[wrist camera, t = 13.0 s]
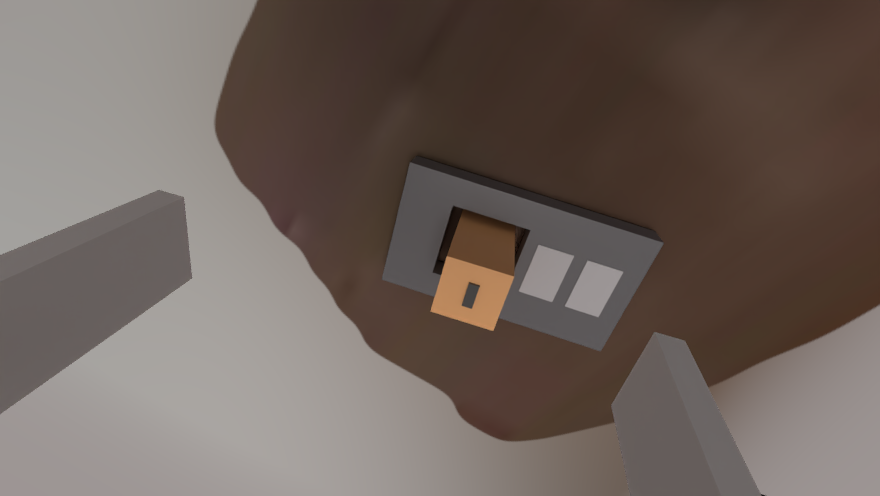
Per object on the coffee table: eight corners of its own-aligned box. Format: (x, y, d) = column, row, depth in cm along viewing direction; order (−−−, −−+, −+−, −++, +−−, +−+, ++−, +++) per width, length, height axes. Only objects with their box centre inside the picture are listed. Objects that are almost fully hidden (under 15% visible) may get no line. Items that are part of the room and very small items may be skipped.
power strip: (416, 155, 37) (409, 162, 35) (655, 231, 37) (664, 243, 34) (388, 267, 43) (381, 279, 40) (596, 335, 42) (600, 351, 40)
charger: (463, 208, 39) (446, 257, 30) (515, 224, 39) (514, 278, 29) (449, 254, 41) (429, 313, 32) (498, 269, 41) (492, 333, 32)
